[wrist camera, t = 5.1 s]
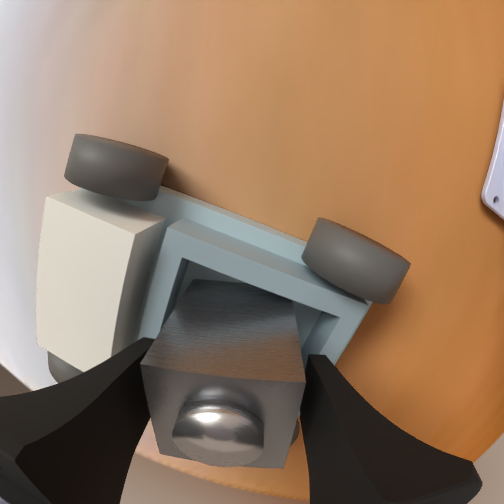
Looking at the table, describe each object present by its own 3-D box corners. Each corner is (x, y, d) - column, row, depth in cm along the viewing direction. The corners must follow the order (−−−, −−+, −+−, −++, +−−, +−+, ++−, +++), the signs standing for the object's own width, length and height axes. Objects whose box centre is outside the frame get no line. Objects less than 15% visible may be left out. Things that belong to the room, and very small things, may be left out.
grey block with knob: (289, 286, 12) (308, 398, 6) (279, 363, 13) (283, 482, 7) (193, 278, 12) (131, 378, 6) (195, 356, 13) (155, 466, 7)
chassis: (387, 246, 13) (430, 277, 9) (285, 418, 16) (287, 472, 12) (107, 137, 12) (52, 130, 8) (71, 333, 15) (33, 370, 11)
